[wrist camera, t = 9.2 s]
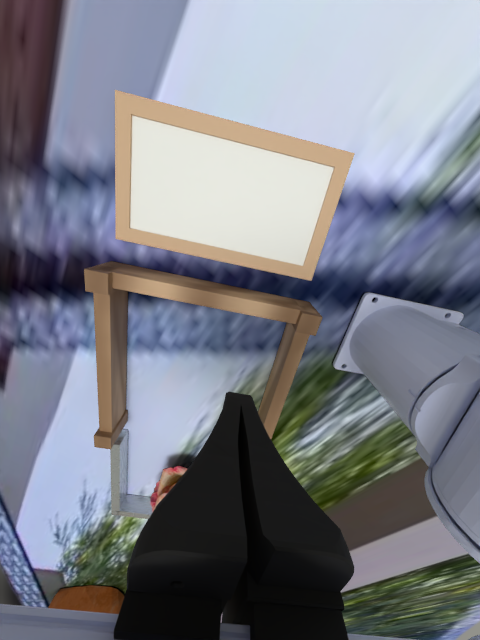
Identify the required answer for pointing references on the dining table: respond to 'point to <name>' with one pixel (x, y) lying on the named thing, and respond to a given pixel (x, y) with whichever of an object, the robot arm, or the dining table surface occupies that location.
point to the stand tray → (125, 484)
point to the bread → (89, 599)
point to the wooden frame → (120, 278)
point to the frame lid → (223, 187)
